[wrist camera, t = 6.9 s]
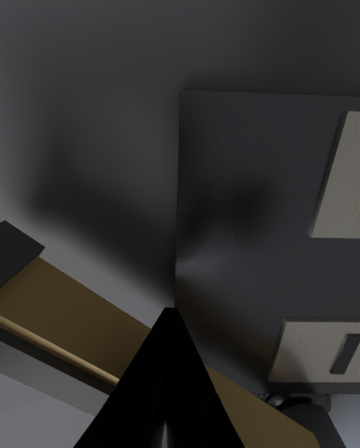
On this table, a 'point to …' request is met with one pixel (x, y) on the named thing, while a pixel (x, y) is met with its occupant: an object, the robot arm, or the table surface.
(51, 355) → the swing arm
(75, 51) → the table surface
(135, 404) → the robot arm
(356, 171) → the panel
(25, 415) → the table surface
